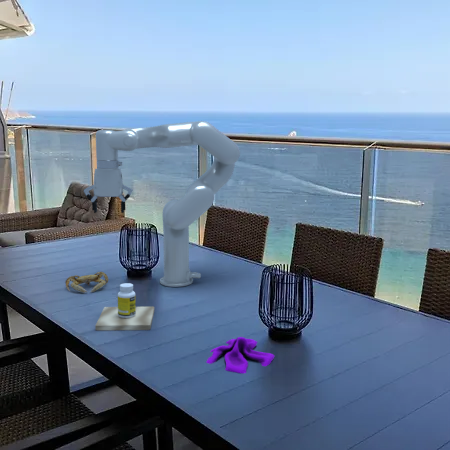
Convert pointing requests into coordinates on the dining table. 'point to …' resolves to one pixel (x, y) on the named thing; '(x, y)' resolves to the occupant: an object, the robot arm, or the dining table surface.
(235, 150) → the robot arm
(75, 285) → the crab model
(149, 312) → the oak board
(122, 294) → the supplement bottle
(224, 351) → the cloth
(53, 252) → the dining table surface
